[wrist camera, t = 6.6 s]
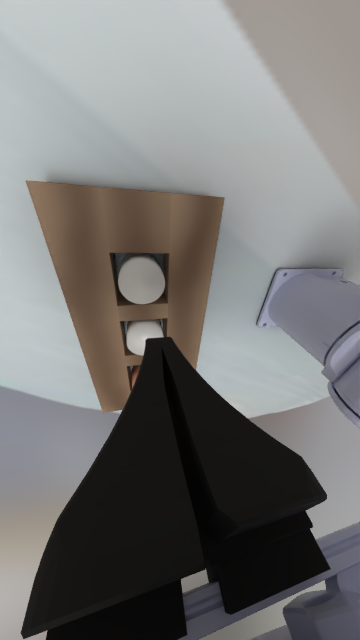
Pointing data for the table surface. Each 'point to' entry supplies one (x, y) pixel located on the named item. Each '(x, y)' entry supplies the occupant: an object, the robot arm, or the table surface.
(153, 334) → the grey plug middle
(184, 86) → the table surface
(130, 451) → the robot arm
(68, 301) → the walnut board
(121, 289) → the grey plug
